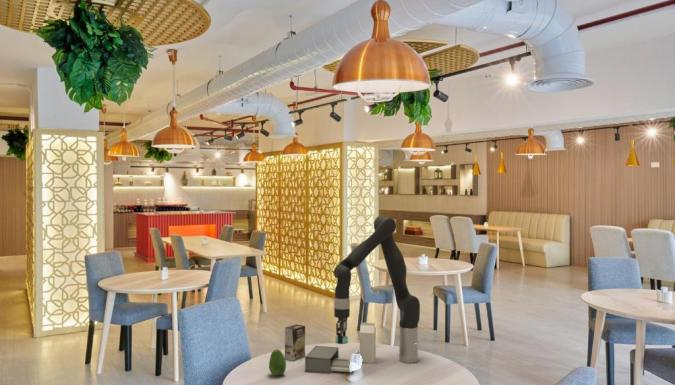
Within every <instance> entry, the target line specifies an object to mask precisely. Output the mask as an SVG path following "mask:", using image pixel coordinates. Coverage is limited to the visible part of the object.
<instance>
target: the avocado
mask: <svg viewBox="0 0 675 385" xmlns="http://www.w3.org/2000/svg"><path fill="white" fill-rule="evenodd" d="M269 357H270V358H269V361H268V369H269V372H270V373H271V374H272V375H273V376H277V377H278V376H282V375H284V373H285V372H286V368H287V362H286V361H287V360H286V359H285V355H284V354H283V353H282V351H281V350H279V349H274V350H273V351H271V354H270V356H269Z"/></svg>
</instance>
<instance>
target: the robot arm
mask: <svg viewBox="0 0 675 385" xmlns="http://www.w3.org/2000/svg"><path fill="white" fill-rule="evenodd" d="M373 229H374V231H373V233H371V235H370V236H368V237H367V238H366V239H365V240H364V241H362V242H360V243H359V244H358V245H357V246H356V247H355V248H353V250H352V251H351V252H350V253H349V255H348V256H347V257H346V258H344V259H343V260H341V261H340V262H339V263H338V264H337V265H336V266H335V267H334V269H333V275H334V277H335V278H336V279H337V281H336V286H335V288H334V302H333V303H334V304H333V310H334V311H333V312H334V313H333V316H334V318H337V321H336V323H335V327H336V328H335V329H336V330H335V331H336V333H335V334H336V336H338V345H343V344H342V343H343V336H347V333H346V332H347V330H348V318H350V316H351V314H350V313H351V310H350V308H351V301H350V287H351V281H352V270H353V269H354V268H358V267H359V266H360V265H361V264H362V263H363V262H364V261H365V259H367V257H368V256H369V255H370V254H371V253H372V252H373V251H374V250H375V249H376V248H377V247H378V246H379V245H380V246H381V251H382V254H383V258H384V260H385V265H386V267H387V271H388V274H389V278H390V281H391V284H392V287H393V290H394V295H395V296H394V297H395V301H396V306H397V308H398V309H399V310H400V312H403V313H402V314H403V315H402V317H403V318H402V319H400V320H399V326H398V328H399V332H398V333H399V334H398V335H399V337H398V338H399V341H398V342H399V343H398V344H399V346H398V347H399V349H398V350H399V354H398V358H399V361H400V362H402V363H408V364H412V363H413V364H415V363H416V362H417V363H418V362H419V361H418V360H419V336H418V333H419V328H418V327H419V322H420V313H421V304H420V300H419V298H418V297H416V296H415V295H413V294H410V291H409V289H408V284H407V265H406V263H405V258H404V256H403V254H402V252H401V250H400V249H399V246H398V244H396V242H395V239H394V235H393V233H394V232H395V231H396V229H397V222H396V221H395V219H393V218H392V217H389V216H386V215H379V216H377V217H376V218H375V220H374V222H373ZM414 362H415V363H414Z"/></svg>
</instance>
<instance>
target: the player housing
mask: <svg viewBox="0 0 675 385" xmlns="http://www.w3.org/2000/svg"><path fill="white" fill-rule="evenodd" d="M339 350H340V349H339V347H338V346H337V347H336V346H324V345H322V346H321V345H314V347H313V348H312V349H311V350H310V351H309V352H308V353H307V355H305V357H304V360H305V361H304V365H305V366H304V373H305V372H306V373H307V372H308V373H316V374H318V373H319V374H327V375H328V374H329V375H330V374H331V372H332V371H331V370H330V363H331V362H332V360H333V359H334V358H340V356H339V352H340V351H339Z"/></svg>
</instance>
